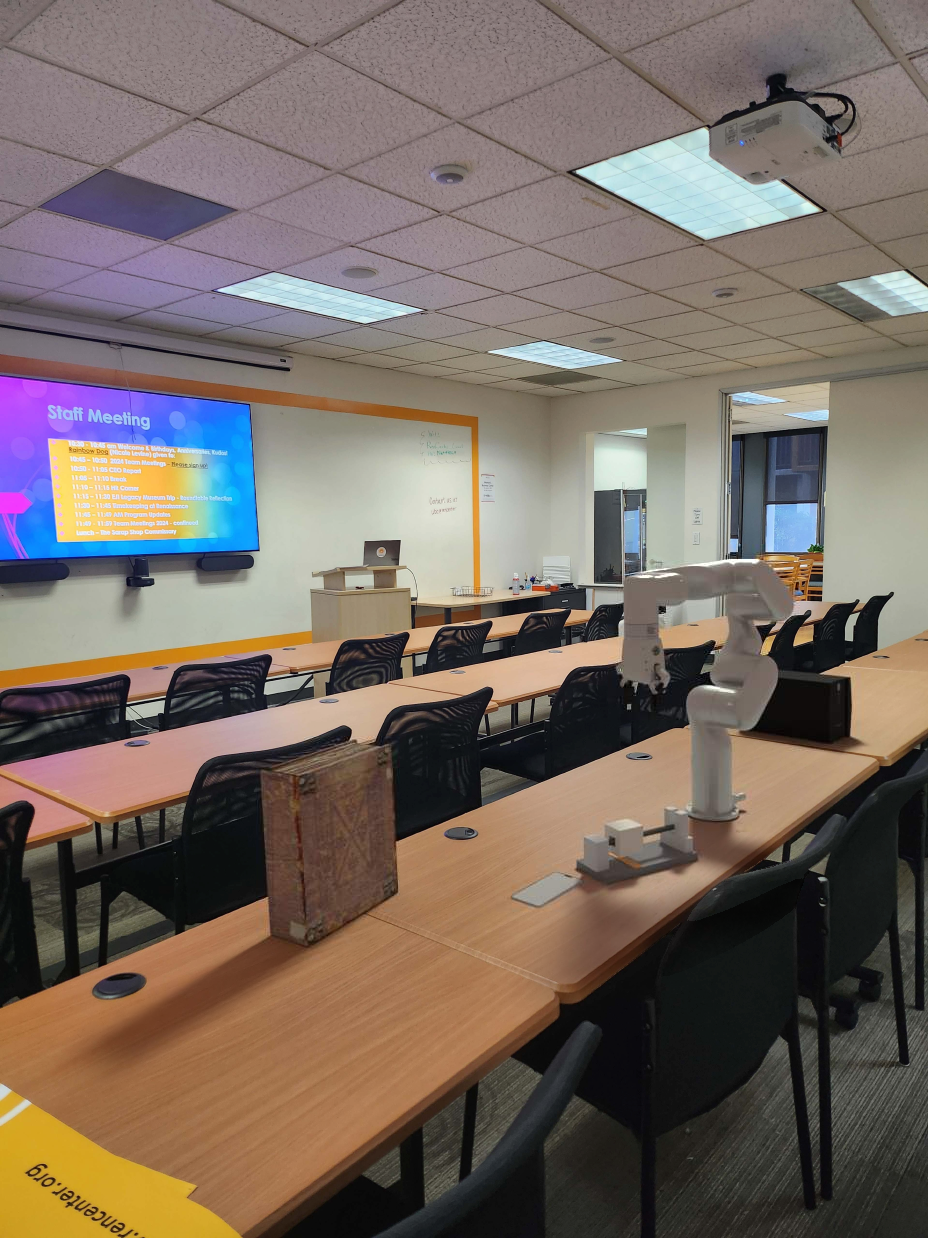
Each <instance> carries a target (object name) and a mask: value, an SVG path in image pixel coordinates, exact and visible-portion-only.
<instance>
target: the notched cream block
mask: <svg viewBox="0 0 928 1238" xmlns="http://www.w3.org/2000/svg"><path fill="white" fill-rule="evenodd" d="M643 831H644V824H641V823H638V822H636V821H635V820H632V819H630V818H624V819H619V820H617V821H610V822H607V823H604V838H605V839H607V840H608V839H612V838H615V844H613V845H609V852H610V853H612V854H614V855H616V856H618V857H619V858H621V857H625V856H629V855H633V854H637V853H641V852H643V844H644V837H643Z"/></svg>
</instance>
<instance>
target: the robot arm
mask: <svg viewBox="0 0 928 1238" xmlns="http://www.w3.org/2000/svg"><path fill="white" fill-rule="evenodd" d="M622 587H623V593H622V594H623V595H622V596H623V597H622V598H623V640H622V648H621V662H620V663H618V664H617V665H616V666H615V671H616V674H617V678H618V680H619V682H620V683H619V685H620V686H619V687H621V697H622V698H621V699H622V700H621V703H622V705H627V706H628V705H633V704H635V703H636V687H635V685H634V683H639V684H644V685H648V687H649V689H650V691H651V693H650V695H649V696H650V697H649V702H650V703H649V704H650V705H649V706H650V707H649V709H650V712H651V713H657V712H663V710H664V693H666V691H667V688H668V687H669V682H670V680H671V674H669V672H668V671H667V670H666V662H665V652H664V647H663V641H662V638H661V637H660V626H659V625H660V624H659V623H660V622H659V619H660V618H659V615H660V614H659V610H660V609H659V607H660V606H661V607H677V606H679V605H682V604H683V603H685V602H686V601H704V600H708V599H709V600H710V599H713V598H717V597H722V596H723V597H724V596H726V597H725V601H724V603H725V604H724V605H725V607H724V608H725V612H726V617H727V623H728V635H727V637H726V640H725V642H724V644H723V645H722V647H721V649H720V651H719V653H718V655H717V656H716V658H715V660H714V662H713V664H712V666H711V669H710V672H709V678H710V680H711V682H712V684H714V685H710V684H709V685H708V684H703V685H698V686H696V687H694V688H692V690H690V692H689V693H688V695H687V696H686V701H685V703H686V704H685V705H686V713H687V718H688V723H689V728H690V729H689V730H690V744H691V745H690V747H691V748H690V749H691V753H690V754H691V755H690V758H691V759H690V761H691V762H690V763H691V766H690V767H691V769H690V770H691V802H689V803H687V804H686V805H685V806H684V807H685V808H684V810H685V812H687V813H688V816H689V817H691V818H694V819H699V820H702V821H707V822H725V821H731V820H734V819H736V818H737V817H738V816H739V815H740V812H739V811H740V810H739V807H737V806H736V804H737V803H739V802H743V801H746V799H747V795H746V793H745V792H740V793H734V791H733V771H732V770H733V758H732V757H733V756H732V755H733V744H732V739H731V737H730V733H729V731H728V729H729V730H735V731H741V732H742V731H748V730H749V729H751V728H753V727H754V726H755V725H756V723H757V722H758V720H759V719H760V717H761V715H762V713H763V711H764V709H765V707H766V705H767V703H768V701H769V699H770V697H771V695H772V693H773V691H774V689H775V687H776V684H777V679H778V670H779V669H778V664H777V663H776V662H775V660H774V659H773V658H772V657H770V656H768V655H765V654H760V652H761V650H762V646H763V641H762V637H761V634H760V633H759V630H758V629H757V626H756V624H755V622H754V621H760V622H775V623H776V622H783V621H786V620H788V619H789V618H790V617H791V616H792V614H793V612H794V608H795V607H794V606H795V605H794V604H795V601H794V597H793V595H792V592H791V591H790V589H789V587H788V586H787V584H786V583H785V582H784V581H783V580H782V578H781V577H780V576H779V574H778V573H777V572H776V571H775V569H774V568H773V567H772V566H771V565H769V563H767V562H766V561H764V560H762V559H760V558H753V559H752V558H751V559H750V558H747V559H746V558H743V559H742V558H738V559H737V558H735V559H733V558H729V559H722V560H721V559H720V560H715V561H711V562H703V563H697V564H689V565H683V566H677V567H669V568H661V569H653V570H647V571H640V572H637V573H635V574H634V575H628V576H627V577H625V578H624V579H623V586H622Z"/></svg>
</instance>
